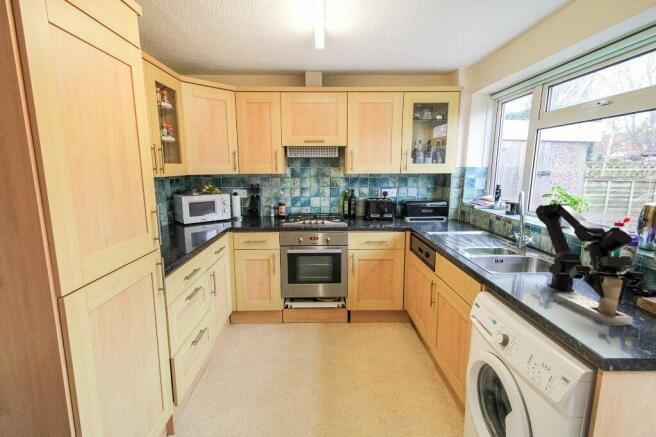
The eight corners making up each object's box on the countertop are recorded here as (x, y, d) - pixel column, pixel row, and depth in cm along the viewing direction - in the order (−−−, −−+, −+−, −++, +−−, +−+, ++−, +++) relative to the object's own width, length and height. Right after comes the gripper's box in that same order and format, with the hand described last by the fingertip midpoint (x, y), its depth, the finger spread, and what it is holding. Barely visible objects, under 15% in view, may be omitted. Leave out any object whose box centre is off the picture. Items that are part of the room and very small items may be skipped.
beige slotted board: (553, 299, 113) (554, 293, 113) (572, 298, 115) (573, 292, 115) (608, 326, 95) (610, 319, 94) (631, 324, 96) (632, 317, 96)
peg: (593, 312, 101) (600, 276, 99) (603, 311, 102) (611, 276, 100) (607, 319, 97) (615, 282, 95) (617, 318, 98) (626, 281, 96)
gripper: (579, 242, 102) (588, 284, 94) (649, 249, 96) (665, 294, 88) (565, 258, 111) (573, 297, 103) (628, 264, 105) (642, 307, 97)
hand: (611, 298), depth 97 cm, fingers closed on peg, 4 cm apart
